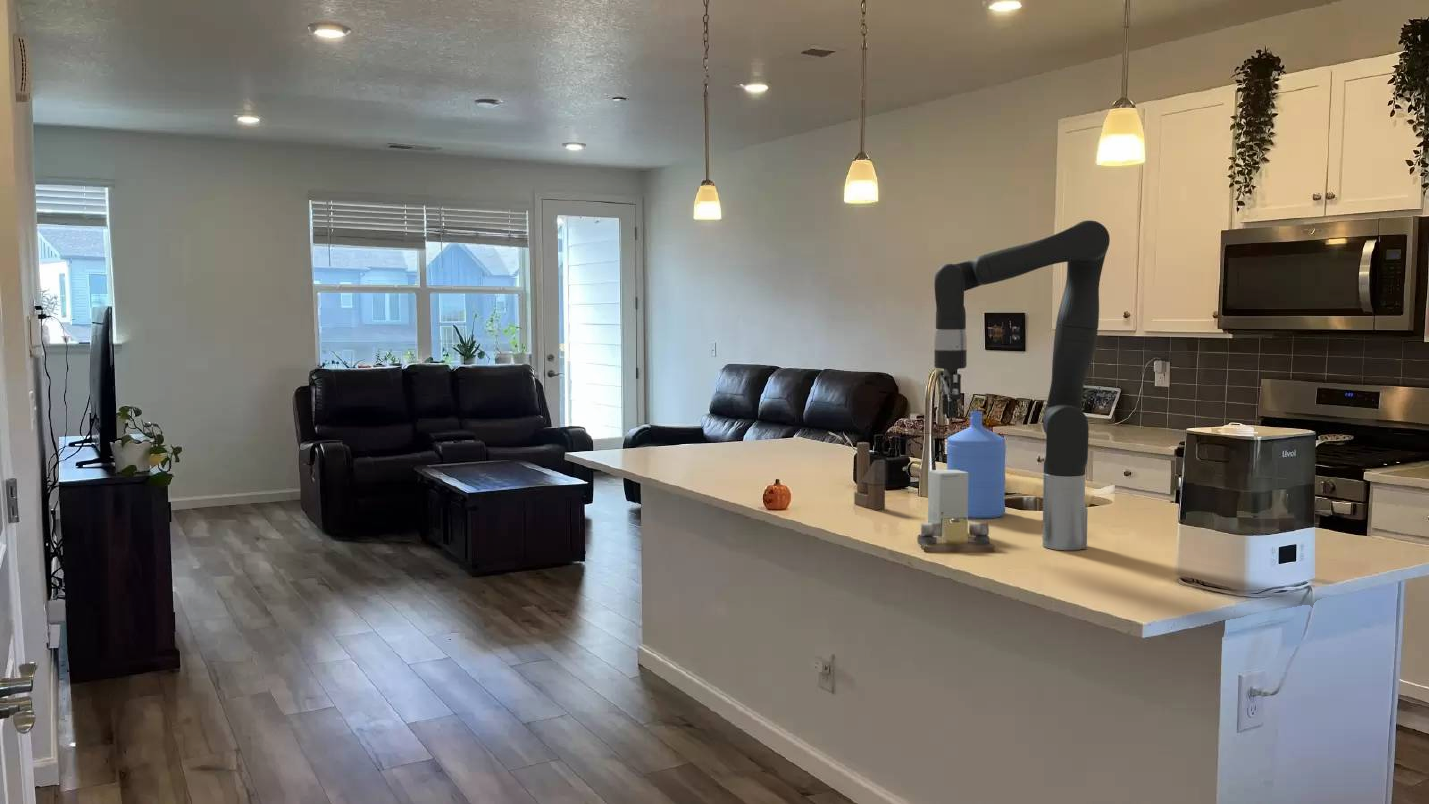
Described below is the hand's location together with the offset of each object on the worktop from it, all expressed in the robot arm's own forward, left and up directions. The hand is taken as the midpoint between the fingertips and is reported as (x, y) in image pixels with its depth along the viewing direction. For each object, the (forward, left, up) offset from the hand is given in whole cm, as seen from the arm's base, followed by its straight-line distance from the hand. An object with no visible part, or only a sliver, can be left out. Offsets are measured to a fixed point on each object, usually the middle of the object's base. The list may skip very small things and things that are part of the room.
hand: (950, 415), depth 248 cm
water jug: (-13, -32, -30) cm, 46 cm away
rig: (0, +8, -30) cm, 31 cm away
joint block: (0, +8, -29) cm, 30 cm away
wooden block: (+15, -43, -30) cm, 55 cm away
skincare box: (-1, -8, -30) cm, 31 cm away
